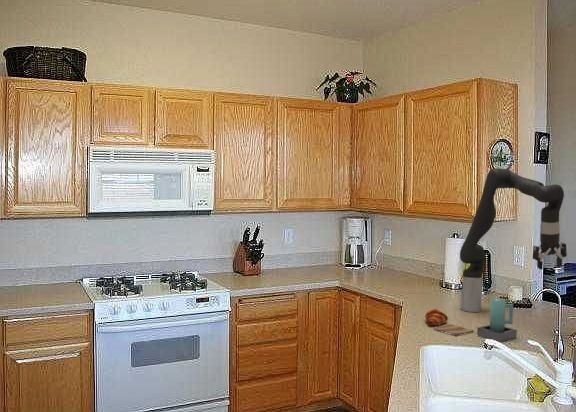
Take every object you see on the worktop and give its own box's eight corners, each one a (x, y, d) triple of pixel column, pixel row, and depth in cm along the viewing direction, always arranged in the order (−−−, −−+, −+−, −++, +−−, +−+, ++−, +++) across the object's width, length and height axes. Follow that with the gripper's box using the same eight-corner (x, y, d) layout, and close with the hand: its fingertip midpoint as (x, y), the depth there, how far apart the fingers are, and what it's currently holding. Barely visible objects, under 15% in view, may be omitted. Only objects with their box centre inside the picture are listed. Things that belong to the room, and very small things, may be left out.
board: (433, 330, 248) (433, 328, 248) (451, 326, 255) (451, 324, 255) (456, 336, 238) (456, 334, 238) (473, 332, 245) (473, 330, 245)
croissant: (434, 324, 272) (427, 308, 273) (453, 316, 268) (446, 301, 269) (424, 333, 253) (417, 317, 254) (445, 325, 249) (437, 309, 250)
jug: (490, 338, 235) (491, 300, 235) (487, 334, 241) (488, 297, 241) (513, 339, 234) (514, 301, 233) (509, 335, 240) (511, 298, 239)
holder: (477, 335, 239) (477, 327, 239) (493, 331, 246) (493, 323, 246) (500, 342, 230) (500, 333, 230) (516, 337, 237) (516, 329, 236)
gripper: (559, 227, 245) (559, 263, 248) (529, 231, 243) (529, 267, 246) (570, 231, 238) (570, 268, 241) (539, 235, 236) (539, 272, 239)
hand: (549, 267), depth 243 cm, fingers open, 8 cm apart
